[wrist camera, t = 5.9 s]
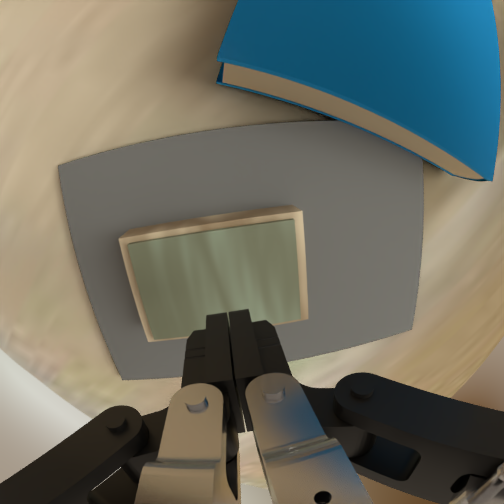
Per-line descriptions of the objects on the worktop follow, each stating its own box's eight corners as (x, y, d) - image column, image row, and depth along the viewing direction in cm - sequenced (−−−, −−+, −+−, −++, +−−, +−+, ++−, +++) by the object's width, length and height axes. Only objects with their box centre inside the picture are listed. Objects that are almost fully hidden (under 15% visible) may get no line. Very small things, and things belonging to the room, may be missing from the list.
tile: (304, 212, 14) (116, 240, 13) (309, 321, 15) (147, 345, 15) (292, 204, 16) (129, 229, 15) (299, 302, 18) (154, 323, 17)
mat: (414, 124, 16) (419, 124, 15) (408, 325, 20) (411, 329, 20) (62, 165, 14) (58, 165, 13) (124, 374, 19) (122, 380, 18)
